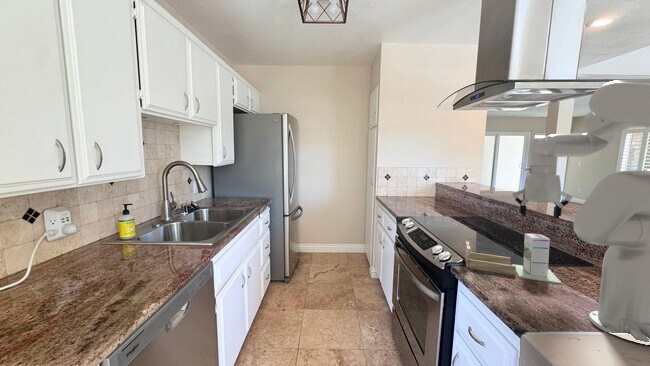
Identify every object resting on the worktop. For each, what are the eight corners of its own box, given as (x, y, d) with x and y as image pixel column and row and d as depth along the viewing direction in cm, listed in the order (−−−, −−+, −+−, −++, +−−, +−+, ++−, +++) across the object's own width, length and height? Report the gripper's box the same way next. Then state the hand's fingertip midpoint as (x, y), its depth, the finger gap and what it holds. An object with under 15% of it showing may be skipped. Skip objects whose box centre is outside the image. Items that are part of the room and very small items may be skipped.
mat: (561, 284, 89) (561, 282, 88) (519, 277, 94) (519, 276, 94) (549, 270, 99) (549, 269, 99) (512, 265, 105) (512, 264, 104)
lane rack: (515, 275, 95) (516, 255, 94) (466, 267, 102) (467, 248, 101) (509, 265, 104) (510, 246, 103) (465, 259, 111) (466, 241, 110)
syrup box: (548, 276, 93) (551, 238, 92) (529, 275, 94) (532, 237, 93) (539, 270, 98) (542, 233, 97) (521, 268, 100) (524, 232, 99)
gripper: (516, 171, 93) (513, 216, 95) (578, 171, 86) (574, 221, 87) (511, 170, 100) (509, 212, 102) (569, 170, 93) (565, 216, 94)
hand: (539, 216), depth 94 cm, fingers open, 9 cm apart
